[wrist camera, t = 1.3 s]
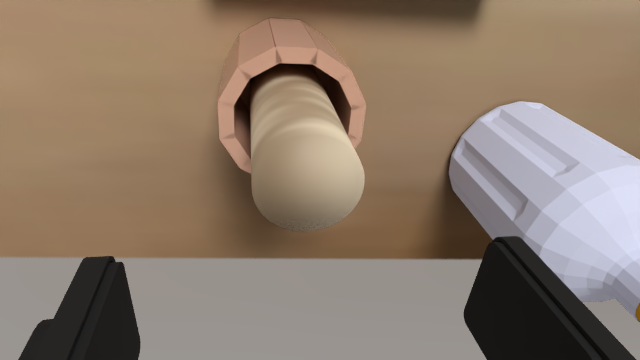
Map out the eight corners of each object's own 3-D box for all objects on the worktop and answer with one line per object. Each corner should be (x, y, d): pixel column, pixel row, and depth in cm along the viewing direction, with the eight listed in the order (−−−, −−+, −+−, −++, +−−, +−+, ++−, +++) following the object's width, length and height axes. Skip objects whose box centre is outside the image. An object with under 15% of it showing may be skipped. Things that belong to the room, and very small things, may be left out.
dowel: (318, 49, 24) (372, 134, 13) (313, 113, 26) (357, 229, 16) (249, 46, 23) (250, 134, 13) (250, 112, 25) (252, 233, 15)
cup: (342, 22, 24) (374, 50, 18) (331, 129, 27) (355, 183, 21) (223, 15, 23) (214, 43, 17) (227, 128, 26) (221, 184, 20)
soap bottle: (428, 144, 29) (875, 663, 8) (545, 74, 28) (1438, 492, 7) (468, 222, 34) (822, 682, 13) (571, 166, 32) (1154, 583, 12)
